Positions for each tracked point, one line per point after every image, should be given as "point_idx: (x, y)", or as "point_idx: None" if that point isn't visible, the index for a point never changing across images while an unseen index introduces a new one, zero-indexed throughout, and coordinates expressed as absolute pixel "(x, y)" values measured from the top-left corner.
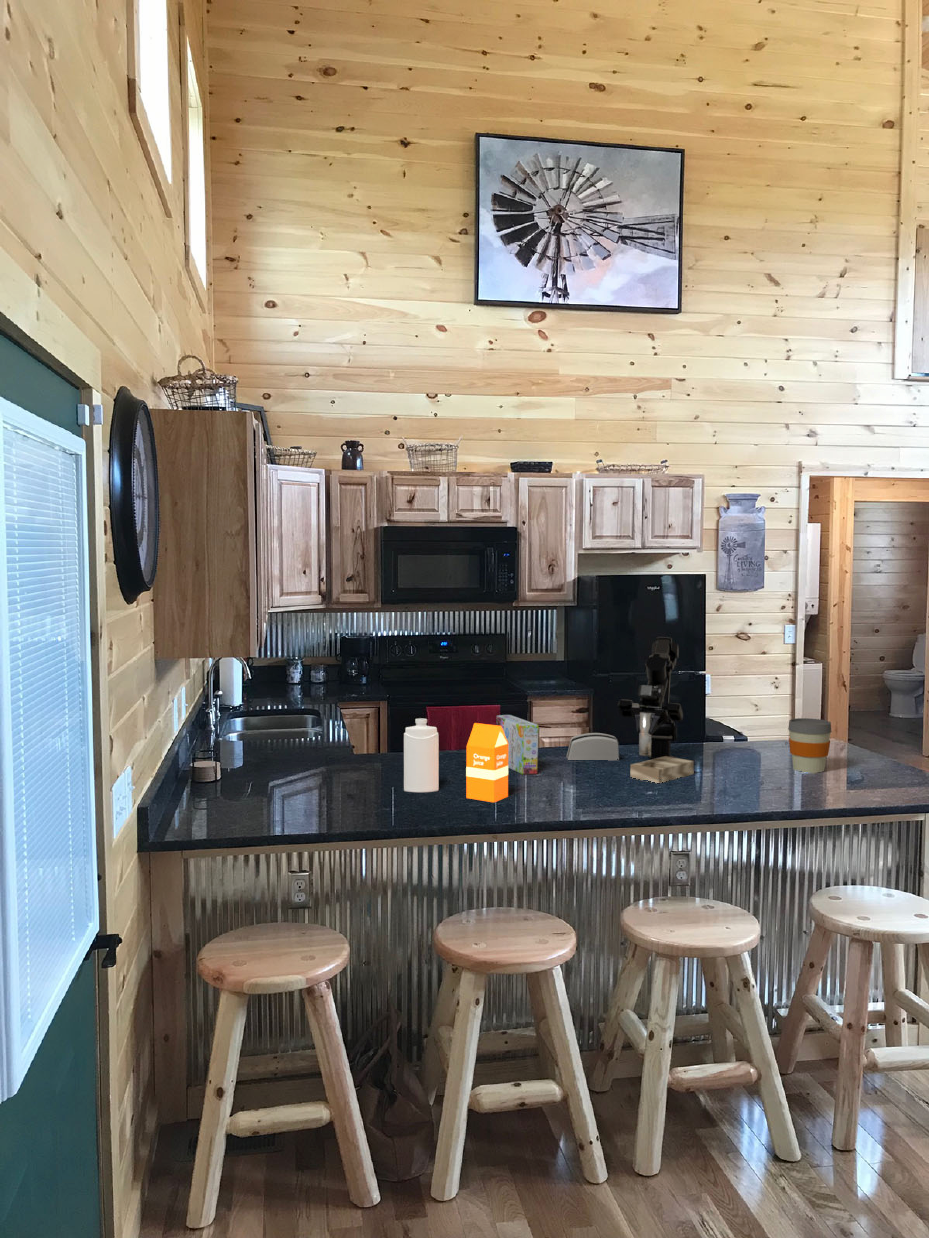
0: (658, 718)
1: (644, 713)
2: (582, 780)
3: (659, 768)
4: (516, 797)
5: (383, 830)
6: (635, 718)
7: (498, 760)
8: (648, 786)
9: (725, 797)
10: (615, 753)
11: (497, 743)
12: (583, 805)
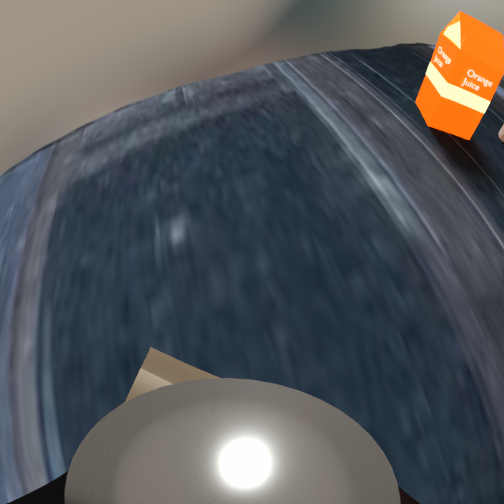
0: (26, 495)
1: (220, 384)
2: (416, 291)
3: (154, 381)
4: (414, 122)
5: (403, 44)
6: (416, 501)
7: (439, 55)
8: (193, 305)
9: (2, 260)
10: None
11: (453, 36)
12: (292, 104)
